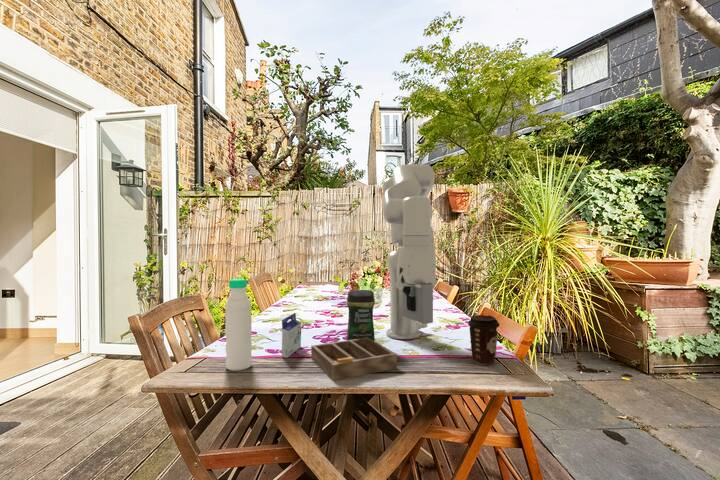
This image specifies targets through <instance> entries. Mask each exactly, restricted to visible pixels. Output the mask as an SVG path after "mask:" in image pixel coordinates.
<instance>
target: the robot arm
mask: <svg viewBox="0 0 720 480" xmlns="http://www.w3.org/2000/svg"><path fill="white" fill-rule="evenodd" d="M435 177H436V176H435V171H434V169H433V167H432V166H431V165H430V164H426V163H425V164H424V163H422V164H420V163H419V164H417V163H416V164H415V163H414V164H411V163H410V164H407V163H406V164H400V165H398V166H396V167H395V168H394V170H393V171H392V176H390V177H387V178H386V179H384V180H383V183H382V191H383V192H382V193H383V197H382V214H383V218H384V220H385V222H386V223H387V224H390V238H391V244H392V245H393V246H394V247H397V248H399V249H394V250H392V251H391V252H389V254H388V257H387V265H388V273H389V284H390V294H389V295H390V328H389V329H387V330H386V331H385V332H386V336H387V337H389V338H392V339H397V340H413V339H418V338H420V337H421V335H422V333H421V331H420V330H421V329H425V328H428V323H427V324H422V323H420V322H417V321H414V320H412V319H409V318H406V317H404V316H402V291H403V292H404V294H405V295H406V296H407V310H410V311H413V312H414V311H415V310H416V298H415V296H414V286H415V285H416V284H422V283H428V284H432V285H433V288H434V287H435V286H437V285H438V281H437V278H436V270H437V269H436V268H437V259H436V257H437V256H436V247H435V235H434V234H435V233H434V229H433V227H432V223H431V220H432V217H433V212H434V210H433V205H432V203H431V199H430V198H429V197H428V195H430V192H431V190H432V189H433V186H434V184H435ZM403 283H405V286H404V285H403Z"/></svg>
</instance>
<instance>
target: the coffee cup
mask: <svg viewBox="0 0 720 480" xmlns="http://www.w3.org/2000/svg"><path fill="white" fill-rule="evenodd" d="M467 325H468V326H469V335H470V336H469V337H470V351H471V362H472V361H473V362H472V363H474V362H475V364H478V365H482V366H487V365H488V366H489V365H493V364H494V363H495V361H496V352H497V342H498V334H499V333H498V330H497V328H499V327H500V323H499V321H498V320H497V318H496V317H494V316H491V315H483V314H481V315H480V314H477V315H471V317H470V320H469V321H468V322H467Z"/></svg>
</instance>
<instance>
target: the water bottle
mask: <svg viewBox="0 0 720 480" xmlns="http://www.w3.org/2000/svg"><path fill="white" fill-rule="evenodd" d="M247 286H248V282H247V279H245V278H233V279H230V280H229V282H228V287H229V290H230V294H229V295H228V297H227V299H226V302H225V303H224V304H225V306H224V309H225V319H224V321H225V323H224V324H225V327H224V328H225V341H226V344H225V354H226V356H225V368H226V369H227V370H229V371H233V372H236V371H237V372H238V371H245V370H246V369H249V368H251V366H252V365H253V357H252V356H253V354H252V350H253V348H252V347H253V346H252V311H251V309H252V302H251V300H250V298H249V296H248V294H247V292H246V289H247Z"/></svg>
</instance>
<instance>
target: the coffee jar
mask: <svg viewBox="0 0 720 480" xmlns="http://www.w3.org/2000/svg"><path fill="white" fill-rule="evenodd" d="M375 304H376V299H375V293H374V292H373V290H372V289H353V290H349V291H348V292H347V297H346V305H347V307H348V319H347V320H348V322H347V330H346V341H347V340H353V339H360V338H367V337H368V338H369V339H371V340H373V341H375V342H376V340H375V339H376V338H375V326H374V306H375Z"/></svg>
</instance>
